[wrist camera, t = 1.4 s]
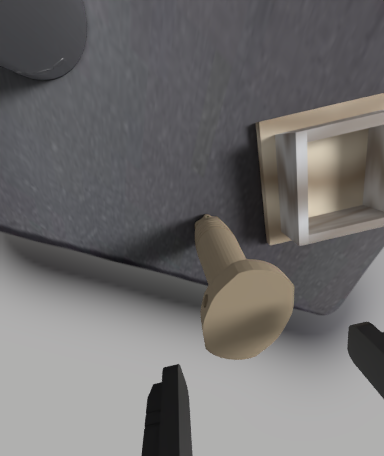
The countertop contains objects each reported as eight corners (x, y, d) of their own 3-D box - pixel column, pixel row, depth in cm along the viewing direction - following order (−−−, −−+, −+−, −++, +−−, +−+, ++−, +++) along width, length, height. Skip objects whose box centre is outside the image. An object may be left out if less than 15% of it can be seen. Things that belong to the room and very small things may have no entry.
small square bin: (255, 122, 22) (277, 117, 18) (386, 92, 23) (442, 78, 18) (266, 241, 28) (285, 261, 23) (373, 216, 28) (414, 231, 23)
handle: (235, 206, 26) (311, 280, 12) (217, 253, 28) (263, 364, 14) (196, 195, 25) (228, 260, 11) (180, 244, 27) (190, 353, 13)
